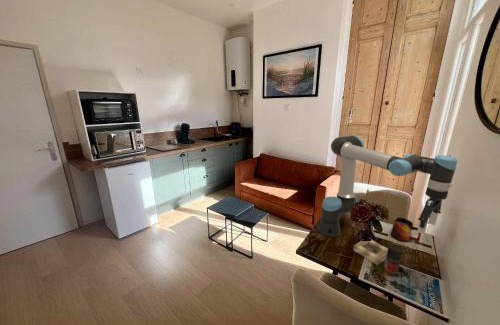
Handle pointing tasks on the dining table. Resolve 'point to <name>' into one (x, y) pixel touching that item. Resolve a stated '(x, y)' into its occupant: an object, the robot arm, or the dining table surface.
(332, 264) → the dining table surface
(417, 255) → the dining table surface
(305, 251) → the dining table surface
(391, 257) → the deodorant
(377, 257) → the socket block
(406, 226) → the mug
